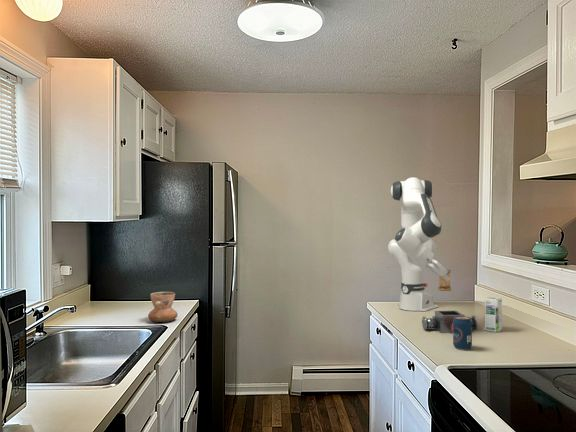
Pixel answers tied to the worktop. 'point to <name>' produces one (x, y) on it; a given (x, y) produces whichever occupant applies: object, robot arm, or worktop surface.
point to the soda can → (462, 332)
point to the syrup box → (493, 314)
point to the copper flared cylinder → (444, 283)
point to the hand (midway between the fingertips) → (446, 278)
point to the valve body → (445, 321)
